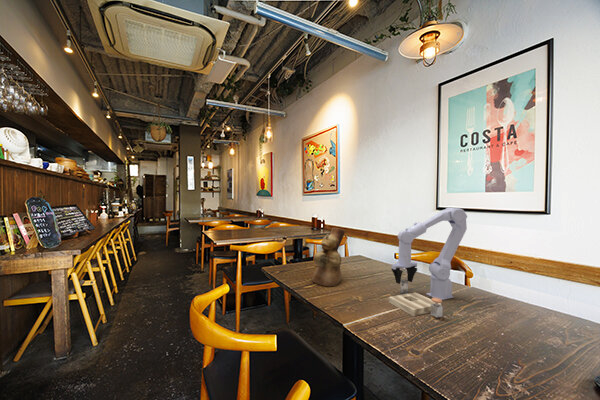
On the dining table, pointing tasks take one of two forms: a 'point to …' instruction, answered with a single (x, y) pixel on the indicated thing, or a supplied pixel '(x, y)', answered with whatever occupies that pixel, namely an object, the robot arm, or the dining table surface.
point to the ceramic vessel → (329, 259)
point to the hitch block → (412, 303)
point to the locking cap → (436, 301)
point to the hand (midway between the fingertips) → (404, 282)
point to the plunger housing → (436, 310)
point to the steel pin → (404, 286)
